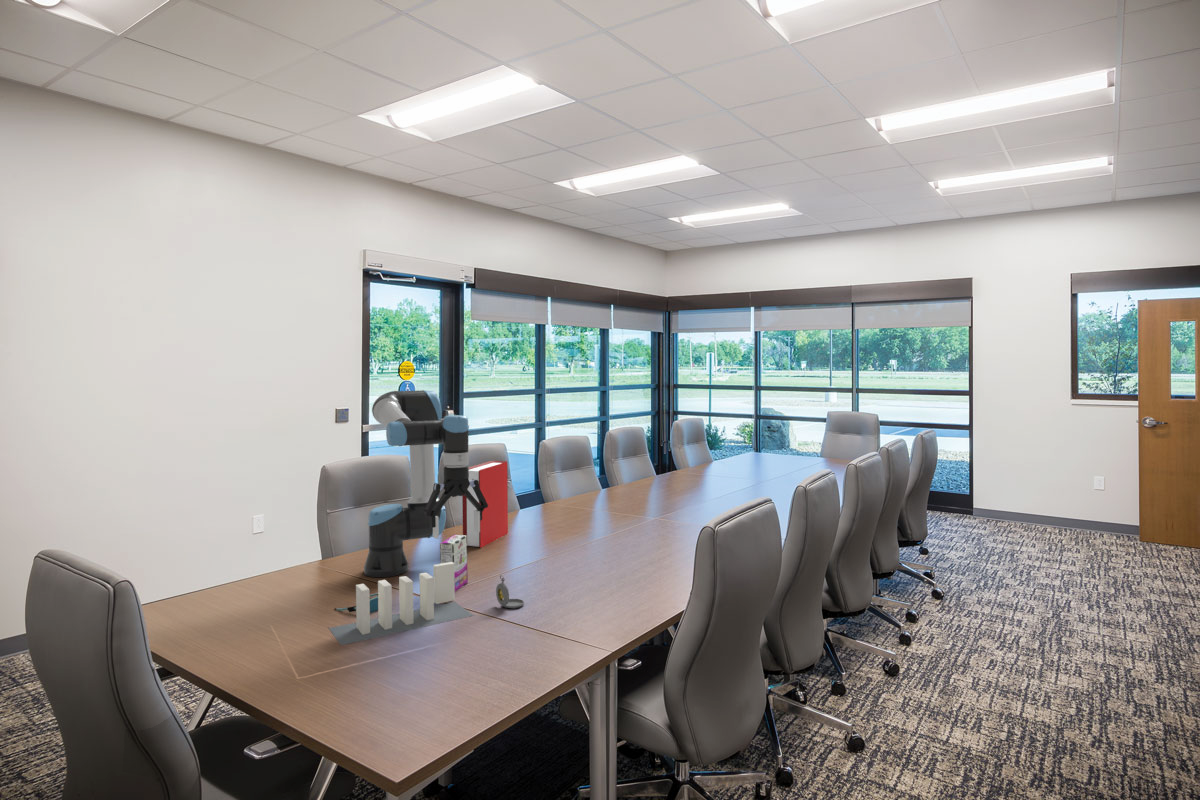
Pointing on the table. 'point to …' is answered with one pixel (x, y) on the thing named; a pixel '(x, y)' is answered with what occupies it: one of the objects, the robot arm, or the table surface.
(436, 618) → the mat
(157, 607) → the table surface
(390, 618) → the domino
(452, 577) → the domino
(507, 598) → the pocket watch
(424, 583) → the domino
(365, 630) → the domino
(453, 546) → the candy bar box
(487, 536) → the book
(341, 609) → the sunglasses
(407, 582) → the domino
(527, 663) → the table surface
